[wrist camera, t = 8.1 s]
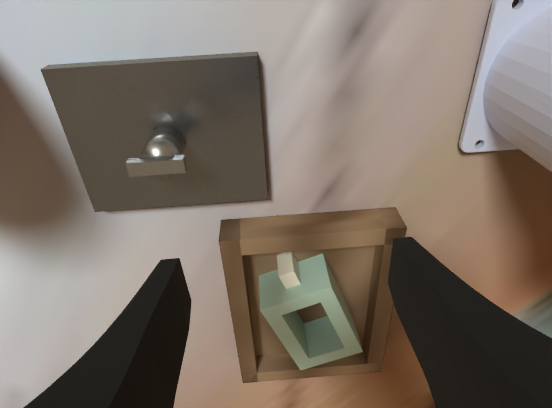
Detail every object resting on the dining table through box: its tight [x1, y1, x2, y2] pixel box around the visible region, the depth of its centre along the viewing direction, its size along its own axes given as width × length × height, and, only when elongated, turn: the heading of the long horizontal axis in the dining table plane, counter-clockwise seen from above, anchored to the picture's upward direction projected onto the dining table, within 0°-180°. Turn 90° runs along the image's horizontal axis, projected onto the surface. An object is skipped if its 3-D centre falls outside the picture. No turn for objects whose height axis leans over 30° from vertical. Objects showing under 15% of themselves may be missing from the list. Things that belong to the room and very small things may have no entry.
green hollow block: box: [259, 252, 363, 370], centre depth 26 cm, size 8×5×3 cm, turn 23°
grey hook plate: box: [41, 52, 268, 212], centre depth 19 cm, size 10×8×4 cm
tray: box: [219, 207, 407, 383], centre depth 27 cm, size 11×14×2 cm
